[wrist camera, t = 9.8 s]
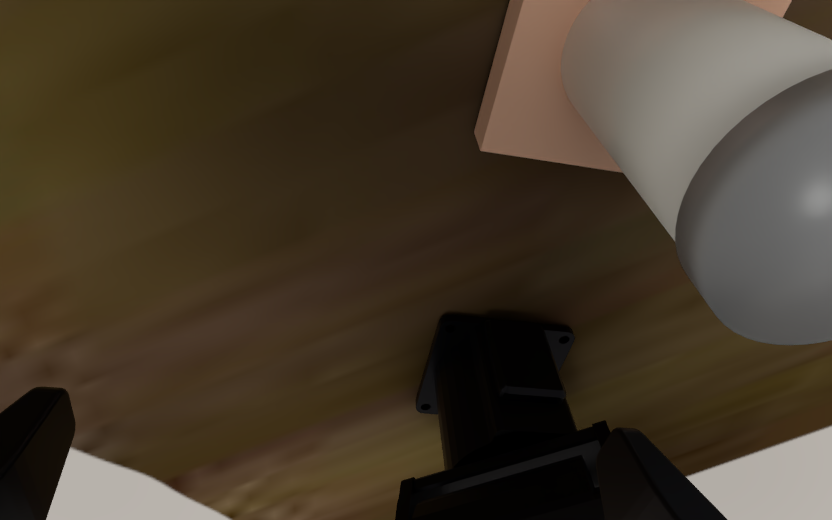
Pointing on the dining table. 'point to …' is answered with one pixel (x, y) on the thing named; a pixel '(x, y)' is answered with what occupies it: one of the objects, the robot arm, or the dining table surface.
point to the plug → (720, 148)
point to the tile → (543, 88)
